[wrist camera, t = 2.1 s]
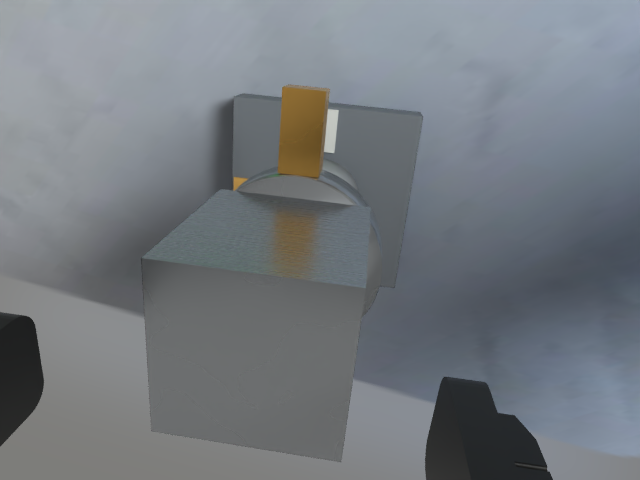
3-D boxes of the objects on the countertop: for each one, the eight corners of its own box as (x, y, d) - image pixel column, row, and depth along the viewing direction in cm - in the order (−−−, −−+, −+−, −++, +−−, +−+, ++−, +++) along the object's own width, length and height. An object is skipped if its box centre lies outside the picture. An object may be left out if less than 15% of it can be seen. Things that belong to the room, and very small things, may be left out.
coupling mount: (420, 112, 21) (438, 139, 14) (393, 274, 24) (398, 356, 18) (243, 93, 22) (184, 111, 15) (238, 253, 25) (188, 326, 18)
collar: (405, 95, 14) (425, 130, 8) (370, 328, 17) (364, 485, 11) (218, 76, 14) (98, 95, 8) (216, 307, 17) (128, 446, 11)
